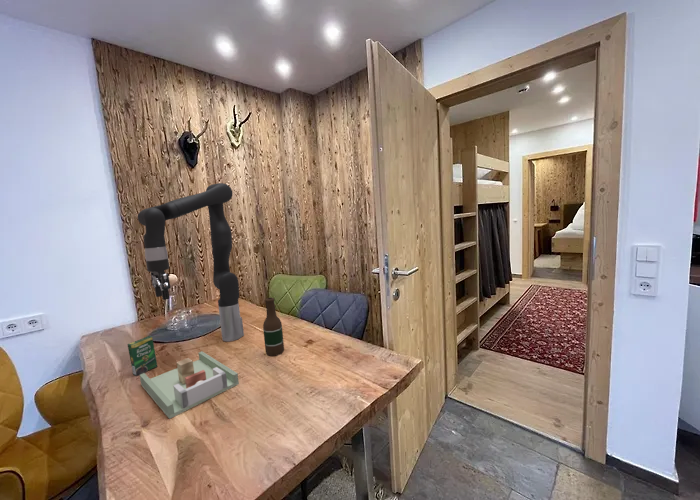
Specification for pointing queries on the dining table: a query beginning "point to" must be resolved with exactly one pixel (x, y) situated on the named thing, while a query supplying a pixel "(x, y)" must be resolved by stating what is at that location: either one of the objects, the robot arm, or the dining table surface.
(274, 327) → the beer bottle
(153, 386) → the pitch
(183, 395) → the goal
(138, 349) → the coffee box
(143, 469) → the dining table surface
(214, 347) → the dining table surface
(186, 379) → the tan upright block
